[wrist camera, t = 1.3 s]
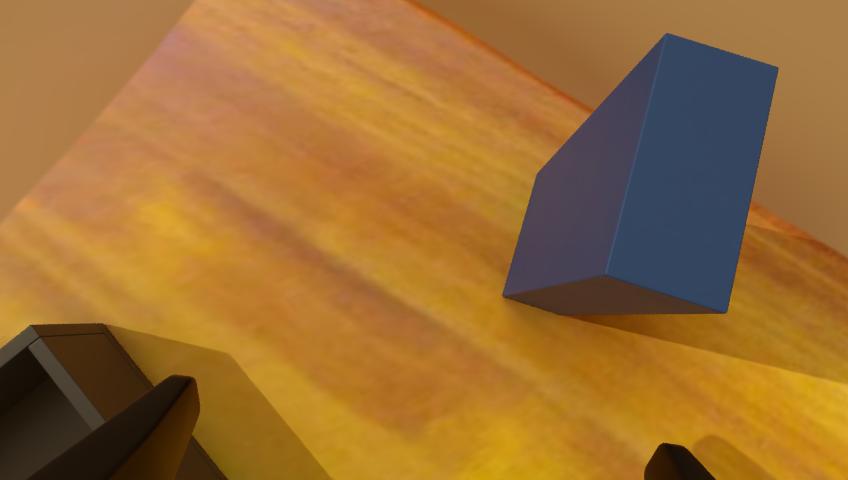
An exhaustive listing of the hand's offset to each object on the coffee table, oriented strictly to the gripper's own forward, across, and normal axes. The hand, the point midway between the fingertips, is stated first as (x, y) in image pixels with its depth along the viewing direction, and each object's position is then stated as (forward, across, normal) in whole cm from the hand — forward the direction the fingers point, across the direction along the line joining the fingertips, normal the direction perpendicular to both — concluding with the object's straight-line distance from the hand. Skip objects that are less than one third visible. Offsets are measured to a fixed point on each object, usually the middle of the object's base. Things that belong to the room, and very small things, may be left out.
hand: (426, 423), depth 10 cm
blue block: (+15, -6, +4) cm, 16 cm away
